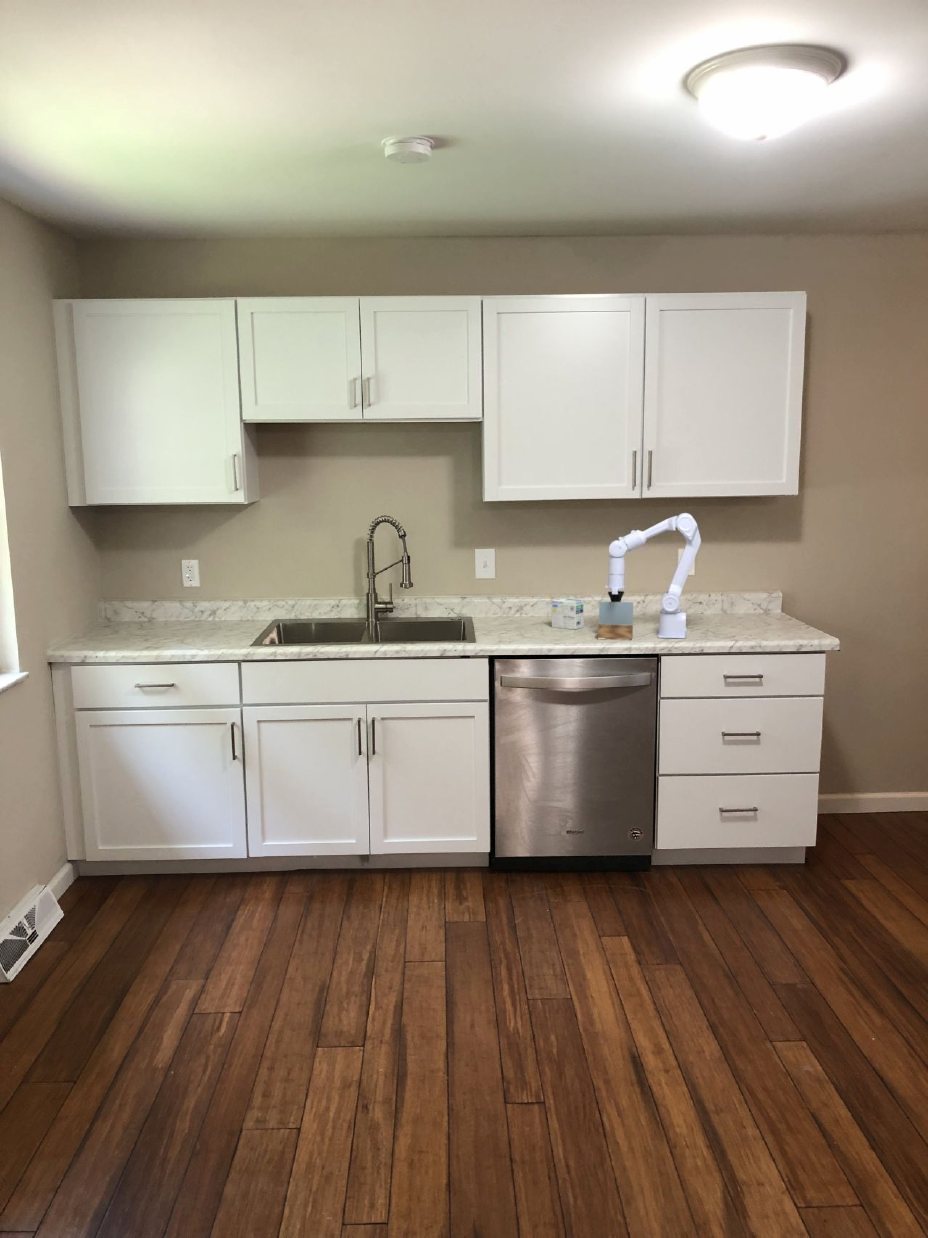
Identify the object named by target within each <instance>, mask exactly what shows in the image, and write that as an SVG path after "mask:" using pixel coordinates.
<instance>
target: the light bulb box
mask: <svg viewBox="0 0 928 1238" xmlns="http://www.w3.org/2000/svg"><path fill="white" fill-rule="evenodd" d="M584 602H585V601H584V599H577V598H575V599H574V598H561V597H559V598H555V599H551V628H556V629H566V630H579V629H582V628H584V626H585V625H584V623H585V621H584V617H585V616H584V615H585V614H584V611H585V610H584Z"/></svg>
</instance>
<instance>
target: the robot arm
mask: <svg viewBox="0 0 928 1238" xmlns="http://www.w3.org/2000/svg"><path fill="white" fill-rule="evenodd" d="M676 528H677V530H678V531H679V532H680V533H681V534H682V535H683V537H684V539H685V541H686V543H685V545H684V546H685V547H683V550H682V554H681V556H680V559H679V561H678V563H677V565H676V566H677V567H676V569H675V572H674V574H673V576H672V579H671V582H670V583H669V586H668V587H667V591H665V592H664V594H663V595H662V596H661V600H660V605H661V609H659V624H658V625H659V627H658V629H659V631H658V633H657V637H658V638H659V639H660V638H661V639H686V634H687V627H686V625H687V621H686V620H687V613H686V612H683V611H682V612H681V609H679V608H680V597H681V595H682V591H683V588H684V585H685V583H686V581H687V578H688V576H689V573H690V571H691V568H692V566H693V564H694V561H695V558H696V556H697V554H698V551H699V549H700V546H701V545H702V538H701V535H700V530H699V527H698V524H697V521H696V520H695V518H694V517H693V515H692V514H690V513H688V512H684V513H680V514H679V515H674V516H672V517H669V518H667V519H664V520H662V521H660V522H659V523H656V524H655V525H653V526H651V527H648V528H647V529H645V530H643V531H642V530H639V529H637V530H635V529H632V530H631V531H630V533H628V534H627V535H624V536H620V537H619V536H618V540H617V539H616V540H614V541H612V542H611V543H610V545H609V547H608V552H609V556H608V559H609V560H608V576H607V577H608V583H607V585H605V586H604V588H605V589H608V590H611V591H608V592H607V595H608V596H609V599H610V602H622V598H623V596H624V595H625V591H623V590H625V589H626V586H625V573H626V572H625V571H626V569H625V568H626V561H625V554H626V552H627V553H630V552H632V551H633V550H636V549H638V548H639V547H642V546H644V545H646V542H647V540H649V539H651V538H652V537H655V536H657V535H659V534H662V533H664V532H666V531H674V532H675V531H676ZM658 638H657V639H658Z"/></svg>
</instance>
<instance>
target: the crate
mask: <svg viewBox="0 0 928 1238" xmlns="http://www.w3.org/2000/svg"><path fill="white" fill-rule="evenodd" d="M633 625H634V624H633ZM633 625H621V624H599V623H598V626H597V629H596V630H597V633H596V634H597V636H596V637H597V638H605V639H629V640H628V641H632V640H633V636H634V635H633V634H634V633H633V631H634V630H633V628H634V626H633ZM597 638H596V639H597ZM605 639H604V640H605Z"/></svg>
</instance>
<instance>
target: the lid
mask: <svg viewBox="0 0 928 1238" xmlns="http://www.w3.org/2000/svg"><path fill="white" fill-rule="evenodd" d="M598 602H599V603H598V615H599V616H598V618H599V619H598V625H599V624H604V625H634V602H633V601H621V602H611V601H605V600H603V601H598Z"/></svg>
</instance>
